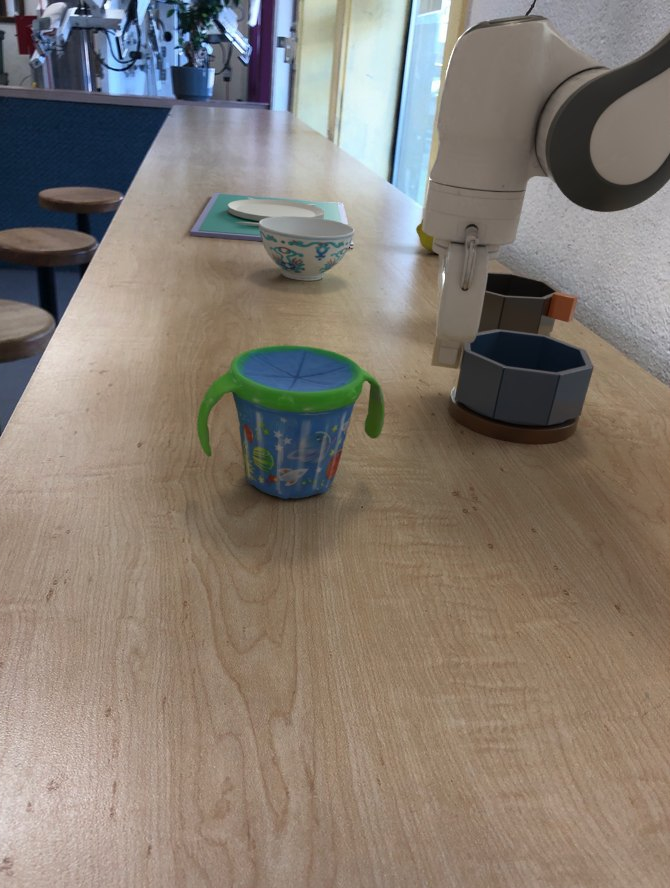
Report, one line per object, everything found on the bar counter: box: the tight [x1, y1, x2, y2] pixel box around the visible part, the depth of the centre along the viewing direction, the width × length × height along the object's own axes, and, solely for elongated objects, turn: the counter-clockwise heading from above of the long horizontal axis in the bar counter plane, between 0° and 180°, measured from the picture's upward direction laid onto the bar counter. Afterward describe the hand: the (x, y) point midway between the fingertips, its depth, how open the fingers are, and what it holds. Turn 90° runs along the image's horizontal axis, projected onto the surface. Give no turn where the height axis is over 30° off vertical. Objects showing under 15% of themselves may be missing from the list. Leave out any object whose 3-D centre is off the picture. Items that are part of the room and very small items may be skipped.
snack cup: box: [196, 344, 385, 500], centre depth 64 cm, size 16×10×10 cm
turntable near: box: [447, 386, 580, 445], centre depth 82 cm, size 13×13×2 cm
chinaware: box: [259, 216, 355, 282], centre depth 125 cm, size 15×15×8 cm
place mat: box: [189, 192, 354, 247], centre depth 166 cm, size 45×30×2 cm
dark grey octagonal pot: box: [478, 271, 579, 335], centre depth 103 cm, size 15×12×6 cm
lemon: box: [415, 218, 436, 254], centre depth 148 cm, size 11×8×8 cm
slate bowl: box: [430, 329, 595, 426], centre depth 80 cm, size 15×12×6 cm
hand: (446, 357), depth 81 cm, fingers closed on slate bowl
